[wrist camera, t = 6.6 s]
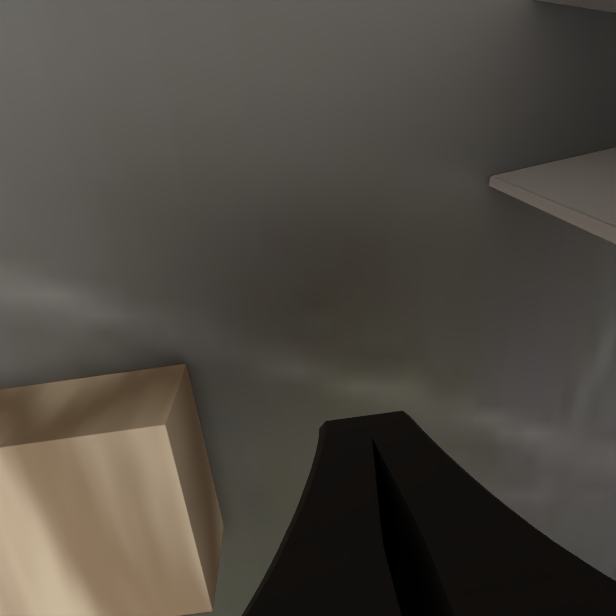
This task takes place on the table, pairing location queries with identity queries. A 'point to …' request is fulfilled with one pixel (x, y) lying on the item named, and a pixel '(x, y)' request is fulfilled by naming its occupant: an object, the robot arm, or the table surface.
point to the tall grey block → (571, 176)
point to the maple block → (106, 498)
